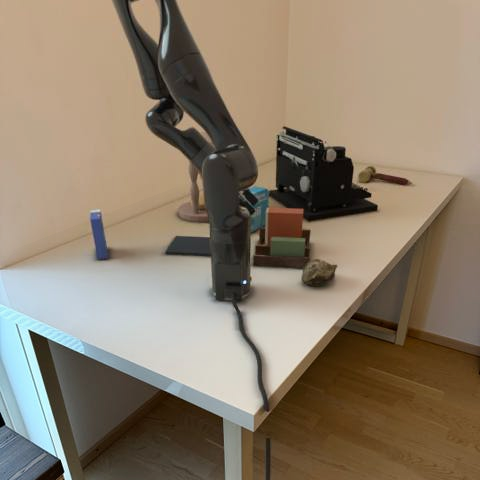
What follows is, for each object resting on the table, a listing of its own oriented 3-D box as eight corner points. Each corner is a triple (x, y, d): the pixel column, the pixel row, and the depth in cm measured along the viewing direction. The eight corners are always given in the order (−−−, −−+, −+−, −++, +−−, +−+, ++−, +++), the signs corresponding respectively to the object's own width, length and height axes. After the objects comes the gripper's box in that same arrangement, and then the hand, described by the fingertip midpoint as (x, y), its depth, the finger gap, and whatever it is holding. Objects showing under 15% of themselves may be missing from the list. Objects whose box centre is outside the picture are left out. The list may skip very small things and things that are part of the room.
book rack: (308, 268, 123) (309, 253, 121) (253, 266, 125) (253, 250, 122) (309, 244, 137) (310, 229, 135) (259, 241, 139) (259, 227, 137)
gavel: (416, 174, 189) (410, 180, 181) (413, 185, 191) (407, 192, 184) (366, 164, 197) (359, 170, 190) (364, 175, 200) (357, 181, 192)
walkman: (107, 258, 130) (100, 217, 123) (97, 259, 129) (89, 218, 123) (107, 248, 136) (100, 208, 130) (97, 249, 135) (90, 208, 129)
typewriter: (377, 210, 161) (388, 134, 148) (308, 221, 153) (313, 141, 140) (330, 187, 186) (336, 120, 173) (268, 195, 178) (270, 125, 164)
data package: (246, 235, 143) (245, 196, 137) (234, 232, 146) (234, 194, 139) (268, 224, 151) (269, 187, 145) (257, 221, 154) (257, 185, 147)
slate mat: (235, 257, 130) (235, 254, 129) (165, 254, 132) (165, 251, 132) (240, 241, 140) (240, 238, 139) (176, 238, 142) (175, 235, 142)
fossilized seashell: (315, 285, 110) (346, 281, 115) (311, 257, 110) (342, 254, 115) (296, 289, 116) (326, 285, 121) (291, 263, 116) (322, 260, 121)
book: (300, 255, 131) (303, 213, 124) (264, 253, 132) (265, 212, 125) (300, 249, 134) (303, 208, 128) (266, 247, 135) (267, 207, 129)
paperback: (303, 266, 124) (305, 241, 121) (270, 264, 125) (270, 240, 122) (303, 262, 126) (305, 238, 123) (270, 260, 127) (271, 236, 124)
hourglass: (198, 202, 171) (194, 130, 158) (238, 210, 163) (237, 135, 150) (168, 216, 158) (160, 139, 145) (210, 225, 151) (207, 145, 137)
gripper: (207, 167, 130) (248, 209, 135) (197, 181, 118) (241, 226, 123) (225, 148, 127) (266, 191, 132) (216, 160, 115) (262, 207, 120)
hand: (254, 208), depth 127 cm, fingers open, 8 cm apart
